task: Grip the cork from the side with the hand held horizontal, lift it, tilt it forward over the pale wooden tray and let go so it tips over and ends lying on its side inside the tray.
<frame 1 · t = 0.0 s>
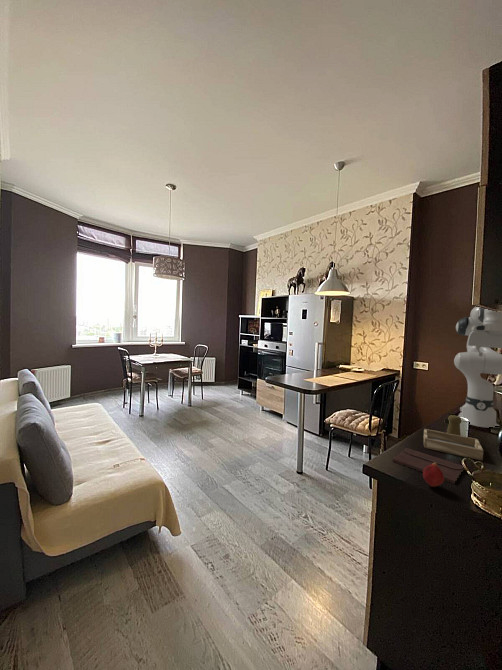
hand: (492, 357, 139), 39 cm above the countertop, tool pointing down, fingers open, 8 cm apart
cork: (453, 439, 137), on the countertop
tray: (450, 447, 127), on the countertop
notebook: (427, 467, 110), on the countertop
onion: (432, 487, 95), on the countertop
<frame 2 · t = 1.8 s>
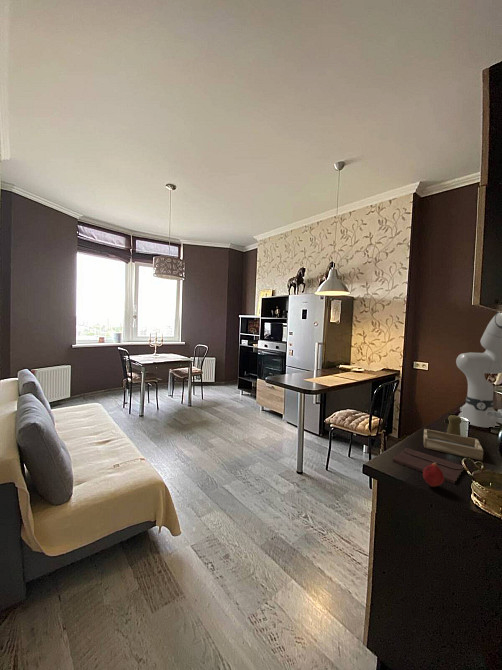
hand: (488, 415, 130), 14 cm above the countertop, tool horizontal, fingers open, 8 cm apart
nothing on the countertop moved.
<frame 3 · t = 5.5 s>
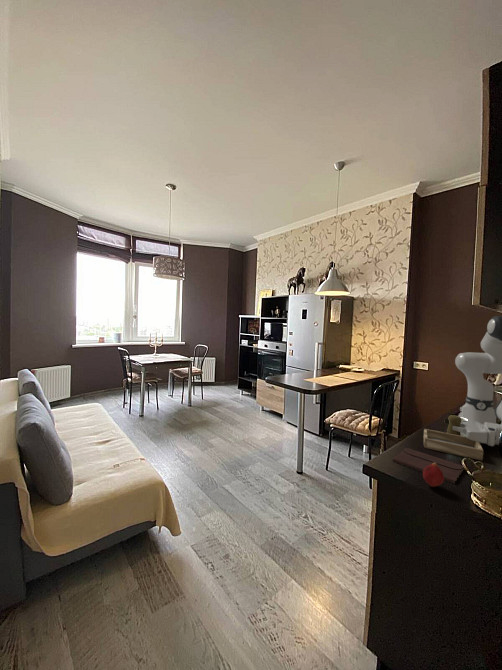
hand: (451, 425, 137), 6 cm above the countertop, tool horizontal, fingers closed on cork, 4 cm apart
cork: (453, 439, 137), on the countertop, touching gripper
everything else where it was.
when the fingers open (8 cm above the countertop, at t = 9.9 s): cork moves 3 cm, resting on tray.
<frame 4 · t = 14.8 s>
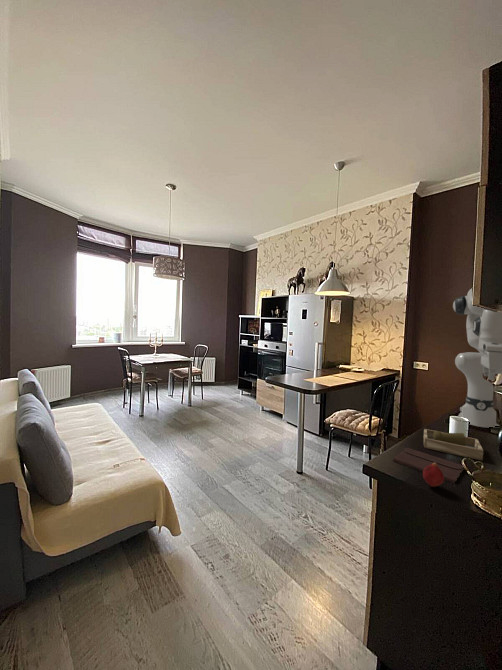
hand: (488, 378, 125), 31 cm above the countertop, tool pointing down, fingers open, 8 cm apart
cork: (463, 440, 126), point 4 cm above the countertop, touching tray
everything else where it was.
at the end: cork tilted 93°; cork inside the target area on the tray (4.8 cm from its centre), point 3.9 cm above the tray's base; the gripper is holding nothing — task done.
